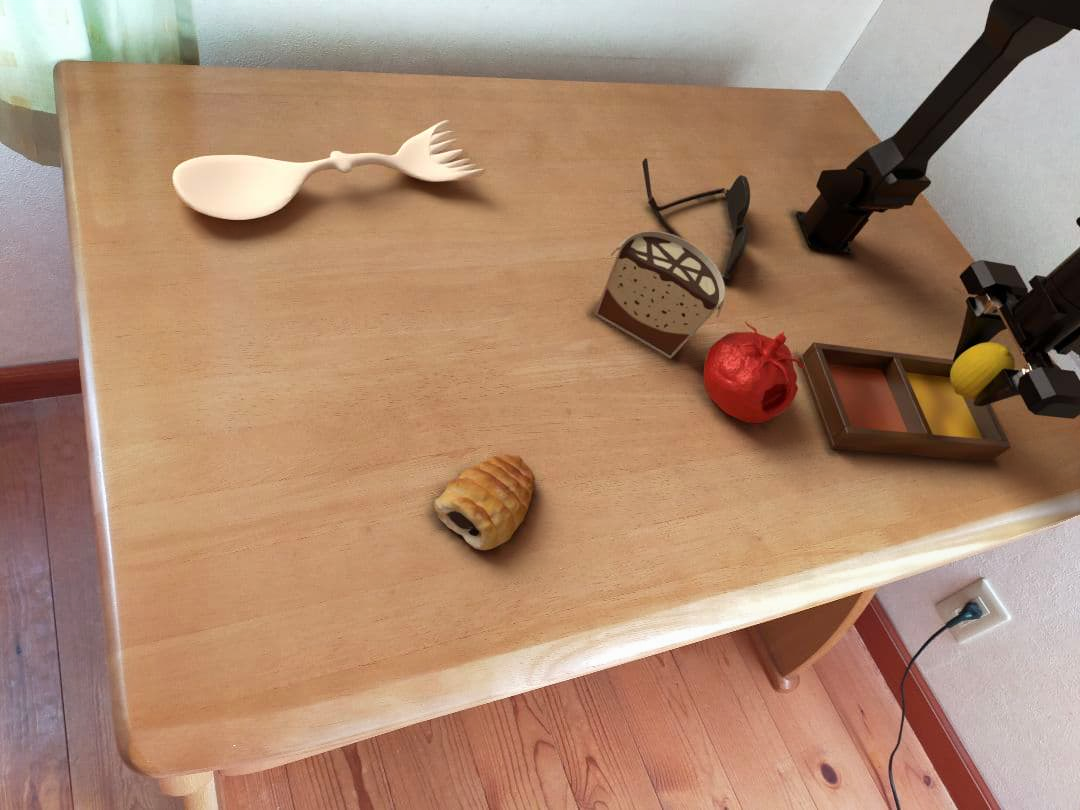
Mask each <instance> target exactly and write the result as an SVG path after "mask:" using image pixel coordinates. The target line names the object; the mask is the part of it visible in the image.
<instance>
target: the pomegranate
mask: <svg viewBox="0 0 1080 810" xmlns="http://www.w3.org/2000/svg"><path fill="white" fill-rule="evenodd" d="M744 323H745V325H746V326H747V327H748V328H750V329H751V330H753V331H734V332H730V333H728V334H727V333H726V334H725V335H724V336H722V337H721V338H719V340H717V341H716V342H714V343H713V344H712V345H711V346H710V348H709V349H708V352H707V354H706V358H705V360H704V367H703V383H704V385H703V386H704V389H705V391H706V394H707V395H708V397H709V398H710V399H711V400H712V401H713V402H714V403H715V404H716V406H717V407H719V409H720V410H722V412H724V413H726V414H727V415H729V416H731V417H732V418H735V419H737V420H739V421H741V422H746V423H752V424H760V423H764V422H767V421H768V420H771V419H773V418H775V417H776V416H778V415H780V414H782V413H783V412H785V411H786V410H787V409H789V407H790V406H791V405H792V403H793V401H794V400H795V398H796V395H797V392H798V390H799V386H798V385H797V381H798V374H797V372H796V370H795V367H794V362H795V363H796V364H797V365H798V367H799V368H800V369H802V368H804V366H802V365H801V363H800V361H799V358H796V357H793V356H792V352H791V350H790V349H789V347H788V345H786V344H785V343H786V341H787V336H786V335H784V334H785V332H784V331H783V332H781V333H778V335H776V336H775V338H772V337H769V336H767V335H764V334H762V333H761V334H760V333H759V332H757V329H756V328H755V327H754V326H752V325H750V324H749V323H748V322H747V320H744Z"/></svg>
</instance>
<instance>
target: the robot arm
mask: <svg viewBox="0 0 1080 810" xmlns="http://www.w3.org/2000/svg"><path fill="white" fill-rule="evenodd" d="M1073 30H1075V31H1079V32H1080V0H992V1H991V3H990V5H989V9H988V13H987V17H986V21H985V25H984V30H983V31H982V33H981V35H979V37H978V38H977V39H976V40H975V41H974V42H973V44H972V45H971V46H970V47H969V48H968V50H967V51H966V52H965V53H964V54H963V55H962V57H960V59H959V60H958V61H957V62H956V64H954V65H953V67H952V68H951V69H950V70H949V71H948V73H947V74H946V75H945V76H944V77H943V78H942V79H941V81H940V82H939V83H938V84H937V85H936V86H935V87H934V89H933V90H932V91H931V92H930V93H929V94H928V95H927V97H926V98H925V99H924V100H923V101H922V102H921V103H920V104H919V106H917V108H916V109H915V110H914V112H913V113H912V114H911V115H910V116H909V117H908V118H907V119H906V120H905V122H904V123H903V124H902V125H901V126H900V128H899V129H898V130H897V131H896V132H895V133H894V134H893V135H891V136H890V137H888V138H886V139H884V140H882V141H880V142H878V143H876V144H874V145H872V146H870V147H868V148H867V149H865V150H864V151H863V152H862V153H861V154H859V155H858V156H857V157H856V158H855V159H854V160H852V161H851V162H850V163H849V164H848V165H847V166H846V168H841V169H840V168H838V169H826V170H825V169H824V170H821V172H820V174H819V177H818V180H817V181H816V184H815V186H816V189H817V190H818V192H819V195H818V196H817V197H816V199H815V200H814V202H813V203H812V204H811V206H810V207H809V208H808V210H807V211H801V210H798V211H796V213H795V217H796V220H797V223H798V226H799V227H800V230H801V233H802V235H803V237H804V240H805V242H806V244H807V247H808V248H809V249H811V250H817V251H821V252H822V251H823V252H829V253H835V254H839V255H840V254H842V255H847V256H849V255H851V253H852V251H853V250H852V248H851V245H850V244H849V243H852V242H853V241H854V240H855V238H856V237H857V236H858V234H859V233H860V232H861V231H862V230H863V228H864V227H865V226H866V225H867V224H868V222H869V218H870V217H871V216H872V214H874V213H879V214H883V213H885V212H887V211H889V210H900V209H902V208H904V207H905V206H907V207H908V206H911V207H912V206H913V205H914V203H915V201H916V199H917V198H918V196H919V195H920V194H921V193H922V192H924V191H926V190H927V188H929V187H930V186H931V184H932V180H931V179H930V178H929V176H927V170H928V165H929V161H930V160H931V158H932V157H933V156H934V155H935V154H936V153H937V152H938V151H939V149H940V148H942V146H944V144H945V143H946V142H947V141H948V140H949V139H950V138H951V137H952V136H953V135H954V134H955V133H956V132H957V130H958V129H959V128H960V127H961V126H962V125H963V124H964V123H965V122H966V121H967V120H968V119H969V118H970V117H971V116H972V115H973V114H974V113H975V111H976V110H978V108H979V107H980V106H981V105H982V104H983V103H984V102H985V101H986V100H987V99H988V97H989V96H990V95H992V93H993V92H994V91H995V90H996V89H997V88H998V87H999V86H1000V85H1001V84H1002V83H1003V82H1004V81H1005V80H1006V78H1007V77H1008V76H1009V75H1010V74H1011V73H1012V72H1013V71H1014V70H1015V69H1016V68H1017V67H1018V66H1019V65H1020V64H1021V63H1022V62H1023V61H1024V60H1026V59H1027V58H1029V57H1031V56H1032V55H1035V54H1036V53H1038V52H1040V51H1043V50H1044V49H1047V48H1048V47H1050V46H1052V45H1055V44H1056V43H1058V42H1059V41H1061V40H1062V39H1063V38H1064V37H1065V36H1067V35H1068V34H1069V33H1071V32H1072V31H1073ZM1075 221H1076V222H1075V223H1076V225H1077V226H1078V228H1080V216H1079V217H1077V218H1076V220H1075ZM959 279H960V281H961V282H962V284H963V287H964V289H965V290H966V292H967V294H968V295H972V296H968V297H967V298H966V299H965V304H966V311H965V315H964V320H963V325H962V329H961V332H960V336H959V340H958V342H957V346H956V349H955V351H954V356H953V358H952V360H953V362H955V361H956V359H957V358H958V357H959V356H960V355H961V354H962V353H964V352H965V351H966V350H968V349H969V348H971V347H973V346H975V345H977V344H980V343H985V342H990V341H992V339H994V338H995V337H996V336H997V335H998V334H1000V333H1001V332H1004V331H1005V330H1007V331H1008V333H1009V335H1010V337H1011V339H1012V340H1013V343H1014V345H1015V346H1016V349H1017V350H1018V352H1019V354H1020V355H1022V356H1023V358H1024V360H1025V362H1026V363H1027V364H1026V365H1025V366H1024V367H1023V368H1021V369H1020V370H1019V369H1015V370H1013V369H1005V368H1003V369H1002V370H1001V371H1000V372H999V373H998V374H997V376H996V377H995V378H994V379H993V380H992V381H991V382H990V383H989V384H988V385H987V386H986V387H985V388H984V389H983V390H982V391H981V393H980V394H979V395H978V396H977V397H976V399H975V400H974V402H973V404H974V406H984V405H988V404H990V405H992V404H994V403H997V402H1000V401H1004V400H1007V399H1010V398H1013V397H1016V396H1020V397H1021V399H1022V400H1023V402H1024V405H1025V406H1026V409H1027V411H1029V412H1031V413H1032V414H1033V415H1034V416H1042V417H1049V418H1050V417H1051V418H1059V419H1060V418H1061V419H1071V420H1074V419H1076V418H1077V417H1079V416H1080V378H1079V375H1078V374H1077V373H1076V371H1075V370H1069V369H1062V368H1061V367H1060V366H1059V365H1058V364H1055V363H1054V362H1053V359H1051V356H1050V355H1049V353H1050V352H1051V351H1055V352H1056V354H1057V355H1063V356H1067V355H1069V354H1070V353H1071V352H1073V353H1074V354H1076V355H1077V356H1078V357H1079V359H1080V246H1079V247H1077V248H1076V249H1075V250H1074V251H1073V252H1072V253H1070V254H1069V256H1067V257H1066V258H1065V259H1064V260H1063V261H1062V262H1061V263H1059V264H1058V265H1057V266H1056V267H1055V268H1054V269H1053V270H1051V271H1050V272H1049V274H1047V275H1046V276H1044V275H1038V274H1035V275H1034V276H1033V277H1032V278H1031V279H1030V280H1029V281H1028V285H1030V288H1031V290H1029V288H1028V286H1027V285H1026V283H1025V281H1024V280H1023V278H1022V276H1021V274H1020V272H1019V270H1018V269H1017V267H1016V266H1015V265H1013V264H1007V263H1001V262H996V261H991V260H985V259H980V260H979V259H978V260H977V261H973V262H971V263H970V264H969V265H968V266H967V267H966V268H965V269H964V270H963V271H962V272H961V273H960V274H959Z"/></svg>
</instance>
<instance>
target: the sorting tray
mask: <svg viewBox="0 0 1080 810" xmlns="http://www.w3.org/2000/svg"><path fill="white" fill-rule="evenodd" d="M798 360H799V361H800V363H801V365H802V366H804V368H801V369H802V372H803V376H804V378H805V380H806V383H807V386H808V389H809V391H810V394H811V396H812V400H813V403H814V406H815V408H816V411H817V414H818V416H819V419H820V422H821V424H822V427H823V431H824V433H825V436H826V438H827V441H828V444H829V447H830V449H832V450H847V451H859V452H871V453H881V454H882V453H883V454H893V455H894V454H895V455H908V456H909V455H910V456H921V457H934V458H946V459H947V458H948V459H958V460H959V459H960V460H970V461H971V460H973V461H984V462H993V461H995V460H996V459H997V458H999V457H1000V456H1001V455H1003V454H1004V453H1005V452H1007V451H1008V450H1010V449H1011V448H1012V445H1011V442H1010V441H1009V439H1008V437H1007V434H1006V433H1005V431H1004V428H1003V427H1002V424H1001V423H1000V421H999V418H998V417H997V414H996V413H995V410H994V409H993V407H992V404H988V405H984V406H974V404H973V402H974V400H972V399H967V398H965V397H963V396H961V395H958V394H956V393H955V389H954V388H953V386H952V384H951V380H950V372H951V368H952V366H953V364H954V362H953V359H951V358H944V357H943V358H942V357H935V356H927V355H919V354H911V353H910V354H909V353H903V352H894V351H886V350H879V349H871V348H863V347H854V346H848V345H847V346H846V345H839V344H831V343H822V342H816V341H814V342H812V343H811V344H810V345H809V347H808V348H806V350H805V351H804V352H803V354H801V356H800V357H799V358H798Z"/></svg>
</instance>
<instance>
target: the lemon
mask: <svg viewBox="0 0 1080 810" xmlns="http://www.w3.org/2000/svg"><path fill="white" fill-rule="evenodd" d="M1015 361H1016V360H1015V357H1014V355H1013V353H1012V352H1011V350H1010V348H1009V347H1007V346H1005V345H1003V344H1001V343H997V342H992V341H991V342H990V341H989V342H985V343H980V344H977V345H975V346H973V347H971V348H969V349H968V350H966V351H965V352H964V353H962V354H961V355H960V356H959V357H958V358H957V359H956V361H955V362H954V364H953V366H952V368H951V372H950V380H951V384H952V386H953V388H954V389H955V393H956V394H958V395H961V396H963V397H965V398H967V399H972V400H975V399H976V397H977V396H978V395H979V394H980V393H981V391H982V390H983V389H984V388H985V387H986V386H987V385H988V384H989V383H990V382H991V381H992V380H993V379H994V378H995V377H996V376H997V374H998V373H999V372H1000V371H1001V370H1002V369H1003V368H1005V369H1013V370H1016V362H1015Z"/></svg>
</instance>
